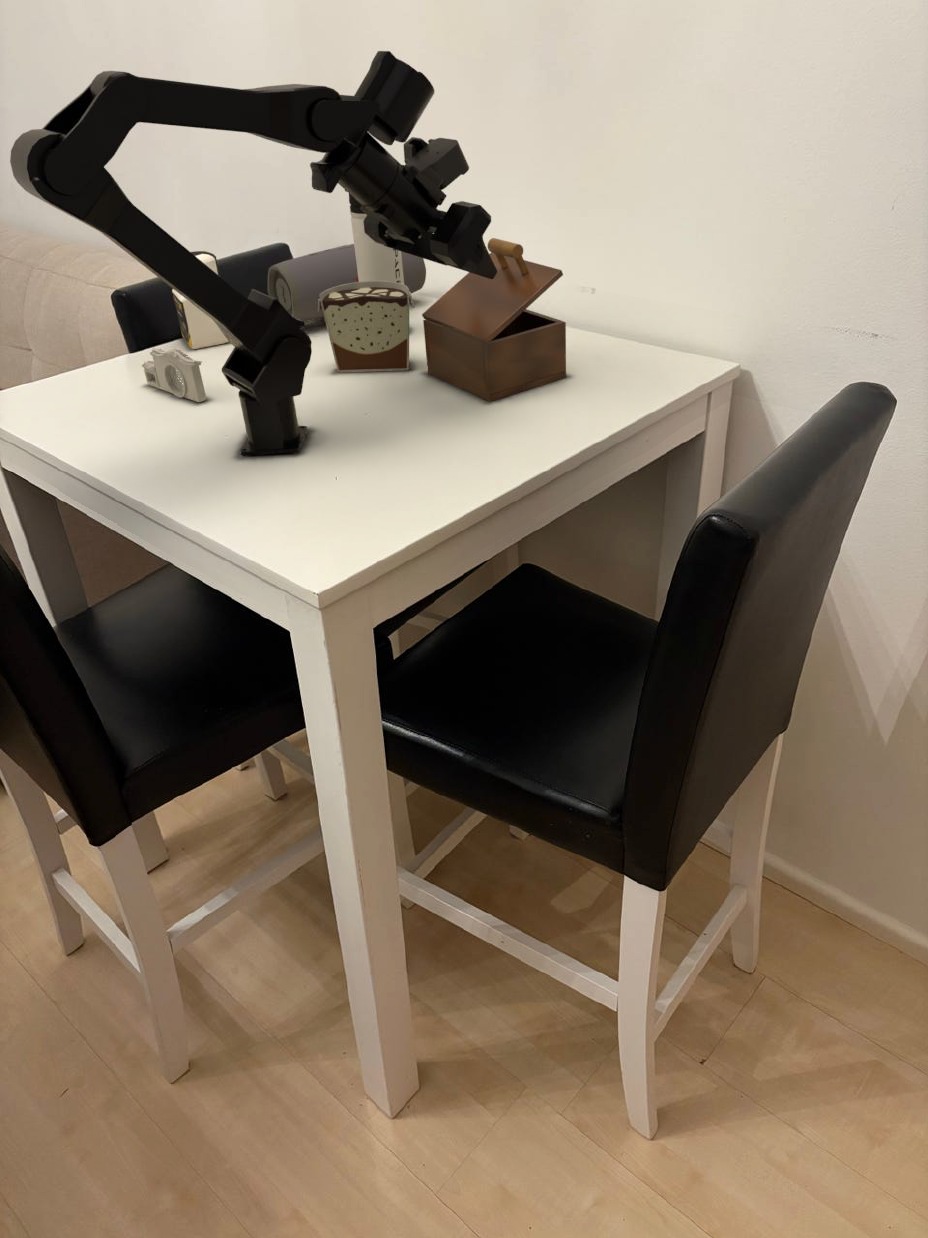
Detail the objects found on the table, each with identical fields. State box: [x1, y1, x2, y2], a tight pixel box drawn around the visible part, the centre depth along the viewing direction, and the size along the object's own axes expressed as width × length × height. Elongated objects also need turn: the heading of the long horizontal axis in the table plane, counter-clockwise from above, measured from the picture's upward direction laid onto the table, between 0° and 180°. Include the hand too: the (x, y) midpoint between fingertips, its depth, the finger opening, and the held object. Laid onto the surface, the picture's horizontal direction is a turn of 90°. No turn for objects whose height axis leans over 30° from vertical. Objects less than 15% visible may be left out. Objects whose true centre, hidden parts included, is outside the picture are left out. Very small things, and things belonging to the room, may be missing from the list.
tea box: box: [422, 308, 567, 402], centre depth 119 cm, size 12×14×7 cm
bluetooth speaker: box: [267, 243, 427, 324], centre depth 145 cm, size 23×9×10 cm, turn 126°
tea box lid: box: [421, 237, 564, 343], centre depth 114 cm, size 12×14×4 cm
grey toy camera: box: [141, 347, 207, 403], centre depth 122 cm, size 12×2×6 cm, turn 48°
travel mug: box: [344, 189, 404, 284], centre depth 133 cm, size 6×7×20 cm
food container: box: [318, 281, 415, 373], centre depth 125 cm, size 12×6×10 cm, turn 84°
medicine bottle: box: [171, 250, 230, 350], centre depth 139 cm, size 7×7×12 cm
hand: (471, 268), depth 113 cm, fingers open, 9 cm apart
